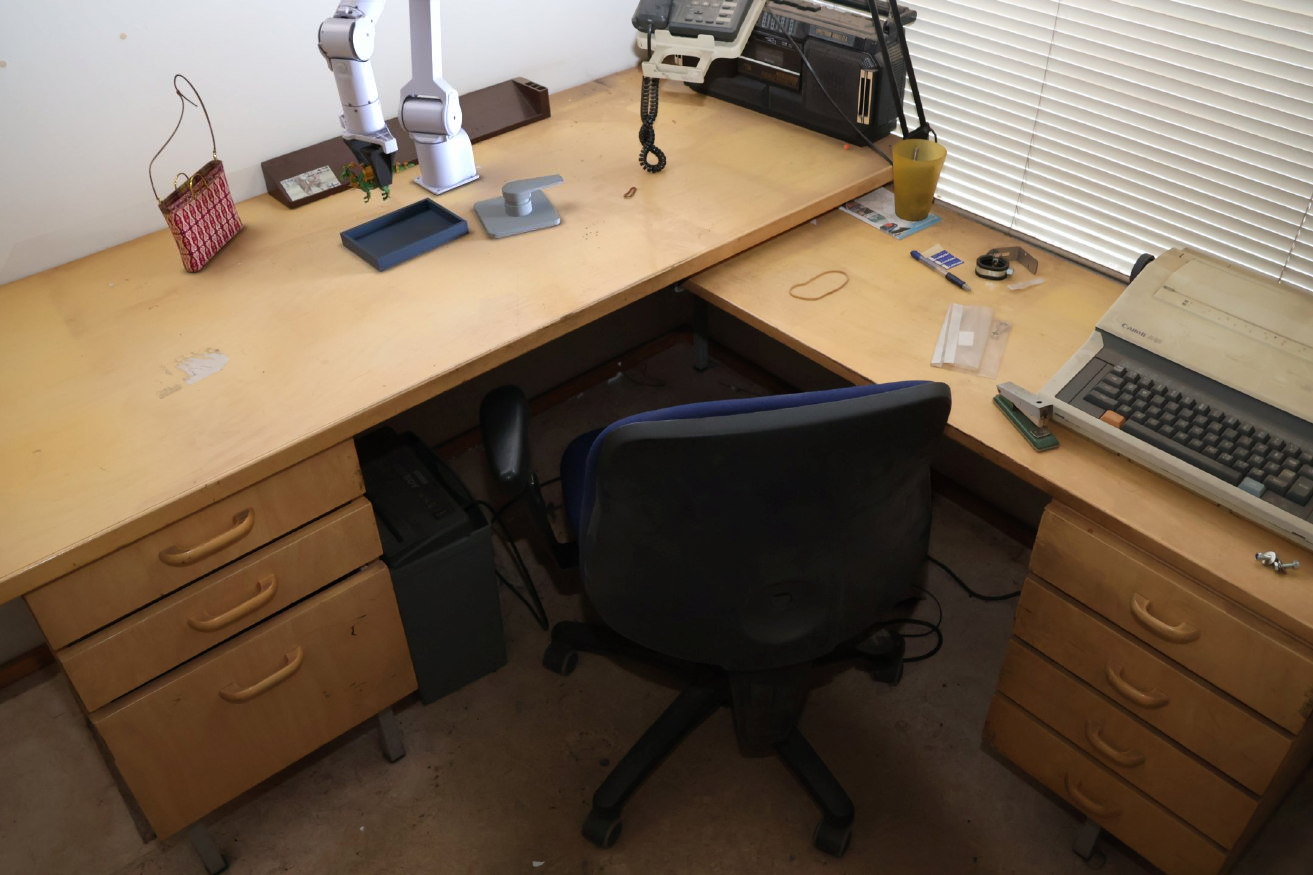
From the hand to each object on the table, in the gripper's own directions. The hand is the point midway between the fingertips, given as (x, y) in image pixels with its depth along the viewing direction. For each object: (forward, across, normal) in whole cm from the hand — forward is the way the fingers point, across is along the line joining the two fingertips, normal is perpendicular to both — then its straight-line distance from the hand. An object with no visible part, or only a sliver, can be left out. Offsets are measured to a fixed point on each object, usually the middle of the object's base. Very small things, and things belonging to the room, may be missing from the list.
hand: (379, 181), depth 163 cm
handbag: (+10, -20, -23) cm, 33 cm away
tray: (+10, +3, +1) cm, 10 cm away
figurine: (+3, 0, 0) cm, 3 cm away
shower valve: (+10, +10, +20) cm, 25 cm away
